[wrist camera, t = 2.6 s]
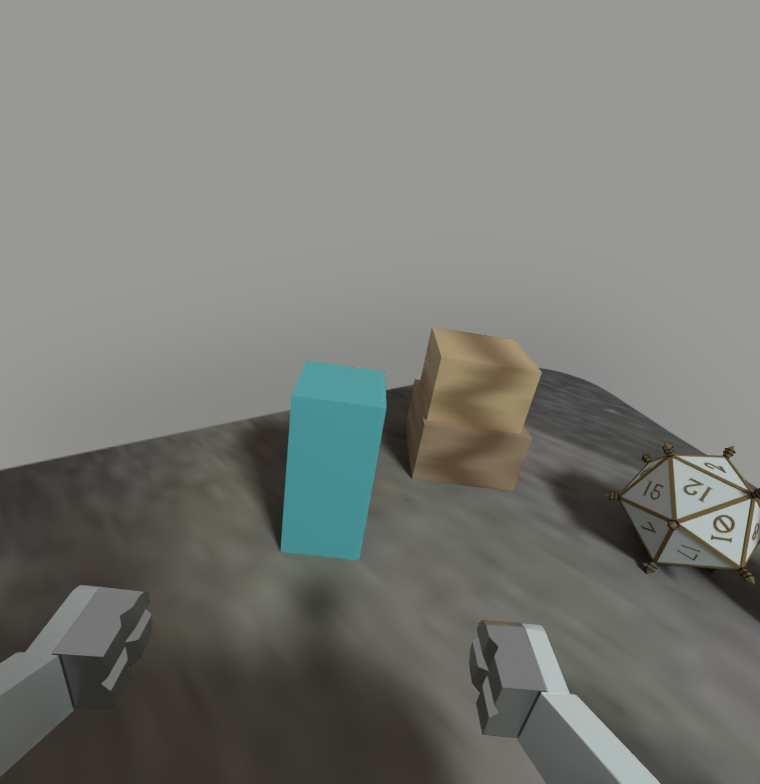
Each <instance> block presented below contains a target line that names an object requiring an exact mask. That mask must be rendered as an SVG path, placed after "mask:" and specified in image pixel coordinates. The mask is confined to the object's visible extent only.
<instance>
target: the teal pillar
mask: <svg viewBox="0 0 760 784" xmlns="http://www.w3.org/2000/svg"><path fill="white" fill-rule="evenodd" d="M386 408H387V407H386V386H385V372H384V371H377V370H370V369H363V368H355V367H348V366H341V365H334V364H327V363H319V362H312V361H306V362H305V364H304V367H303V369H302V372H301V374H300V376H299V379H298V381H297V384H296V386H295V389H294V391H293V393H292V397H291V411H290V425H289V439H288V453H287V467H286V481H285V495H284V509H283V523H282V538H281V552H285V553H295V554H304V555H314V556H323V557H332V558H342V559H351V560H359V558H360V552H361V547H362V541H363V536H364V530H365V525H366V519H367V514H368V508H369V502H370V497H371V491H372V486H373V480H374V475H375V469H376V464H377V458H378V453H379V447H380V442H381V436H382V431H383V425H384V419H385V414H386Z"/></svg>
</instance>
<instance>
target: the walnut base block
mask: <svg viewBox="0 0 760 784" xmlns="http://www.w3.org/2000/svg"><path fill="white" fill-rule="evenodd" d="M420 381H421V380H415V382H414V386H413V391H412V395H411V400H410V405H409V410H408V415H407V419H406V424H405V429H406V437H407V444H408V452H409V460H410V467H411V475H412V479H415V480H423V481H432V482H440V483H449V484H457V485H465V486H474V487H482V488H491V489H499V490H508V491H514V488H515V486H516V483H517V480H518V477H519V475H520V472H521V469H522V466H523V464H524V461H525V458H526V455H527V453H528V450H529V447H530V444H531V442H532V437H531V436H530V434H529V433H528V431H527V430H526V428H525V426H524V425H523V428H522V431H521V434H516V433H509V432H502V431H495V430H488V429H481V428H474V427H468V426H461V425H454V424H447V423H440V422H433V421H427V419H426V413H425V407H424V401H423V395H422V389H421V383H420Z"/></svg>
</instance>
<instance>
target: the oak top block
mask: <svg viewBox="0 0 760 784" xmlns="http://www.w3.org/2000/svg"><path fill="white" fill-rule="evenodd" d="M541 373H542V372H541V371H540V370H539V368H538V367H537V366H536V365H535V364H534V363H533V361H532V360H531V359H530V358H529V357H528V355H527V354H526V353H525V352H524V351H523V349H522V348H521V347H520V346H519V345H518V344H517V342H516V341H515V340H512V339H506V338H499V337H493V336H487V335H480V334H474V333H467V332H461V331H454V330H448V329H441V328H435V327H432V330H431V334H430V339H429V344H428V348H427V353H426V358H425V362H424V367H423V371H422V376H421V381H420V383H421V389H422V395H423V401H424V407H425V413H426V419H427V421H433V422H440V423H447V424H454V425H461V426H468V427H474V428H481V429H488V430H495V431H502V432H509V433H516V434H521V431H522V428H523V425H524V422H525V419H526V416H527V413H528V410H529V408H530V405H531V402H532V399H533V396H534V393H535V390H536V387H537V384H538V382H539V379H540V376H541Z"/></svg>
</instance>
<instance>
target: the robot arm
mask: <svg viewBox="0 0 760 784" xmlns="http://www.w3.org/2000/svg"><path fill="white" fill-rule="evenodd" d="M149 602H150V599H149V594H148V592H143V591H134V590H125V589H116V588H107V587H98V586H87V585H80V586H78V587H77V588H76V589H74V590H73V591H72V592H71V593H70V594H69V596H68V597H67V598H66V600H65V601H64V602H63V604H62V605H61V606H60V607H59V609H58V610H57V611H56V613H55V614H54V615H53V617H52V618H51V619H50V620H49V622H48V623H47V624H46V626H45V627H44V628H43V629H42V631H41V632H40V633H39V635H38V636H37V637H36V639H35V640H34V641H33V642H32V644H31V645H30V646H29V648H28V649H27V650H26V652H17V653H15V654H14V655H12V656H11V657H9V658H8V659H6V660H4V661H3V662H1V663H0V777H1V776H2V775H3V774H4V773H5V772H6V771H7V770H8V769H9V768H11V767H12V766H13V765H14V764H15V763H16V762H17V761H18V760H19V759H21V758H22V757H23V756H24V755H25V754H26V753H27V752H28V751H29V750H31V749H32V748H33V747H34V746H35V745H36V744H37V743H38V742H39V741H41V740H42V739H43V738H44V737H45V736H46V735H47V734H48V733H49V732H51V731H52V730H53V729H54V728H55V727H56V726H57V725H58V724H59V723H61V722H62V721H63V720H64V719H65V718H66V717H67V716H68V715H69V714H70V713H72V712H73V711H74V708H92V709H115V708H116V706H117V704H118V702H119V700H120V698H121V696H122V694H123V692H124V690H125V688H126V686H127V684H128V682H129V680H130V678H131V676H130V670H129V667H130V666H131V665H132V664H134V663H135V662H136V661H138V660H139V659H140V658H141V657H142V655H143V653H144V651H145V648H146V646H147V644H148V641H149V638H150V634H151V631H152V614H151V613H150V612H149V611H148V610H146V608H147V606H148V604H149ZM477 633H478V638H477V639H475V640H474V641H473V642H472V645H471V649H470V658H469V665H470V674H471V680H472V684H473V685H474V686H475V687H476V689H477V690H478V691H479V692H480V694H479V697H478V699H477V702H476V705H477V710H478V715H479V720H480V725H481V730H482V735H491V736H501V737H510V738H518V742H519V743H520V745H521V746H522V748H523V749H524V751H525V752H526V754H527V755H528V757H529V758H530V760H531V761H532V763H533V764H534V766H535V767H536V769H537V770H538V772H539V773H540V775H541V776H542V778H543V779H544V781H545V782H546V784H660V783H659V782H658V780H657V779H656V778H655V777H654V776H653V775H652V774H651V773H650V772H649V771H648V770H647V769H646V768H645V767H644V766H643V765H642V764H641V763H640V762H639V760H638V759H637V758H636V757H635V756H634V755H633V754H632V753H631V752H630V751H629V750H628V749H627V748H626V747H625V746H624V745H623V744H622V743H621V742H620V740H619V739H618V738H617V737H616V736H615V735H614V734H613V733H612V732H611V731H610V730H609V729H608V728H607V727H606V726H605V725H604V724H603V723H602V722H601V720H600V719H599V718H598V717H597V716H596V715H595V714H594V713H593V712H592V711H591V710H590V709H589V708H588V707H587V706H586V705H585V704H584V703H583V702H582V701H581V699H580V698H579V697H578V696H577V695H575V694H570V693H569V690H568V688H567V685H566V683H565V680H564V678H563V675H562V673H561V670H560V668H559V665H558V663H557V660H556V658H555V655H554V652H553V650H552V647H551V645H550V642H549V640H548V637H547V635H546V632H545V630H544V628H543V627H542V626H541V625H535V624H520V623H517V622H502V621H488V620H482V621H481V622H479V625H478V628H477Z"/></svg>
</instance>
